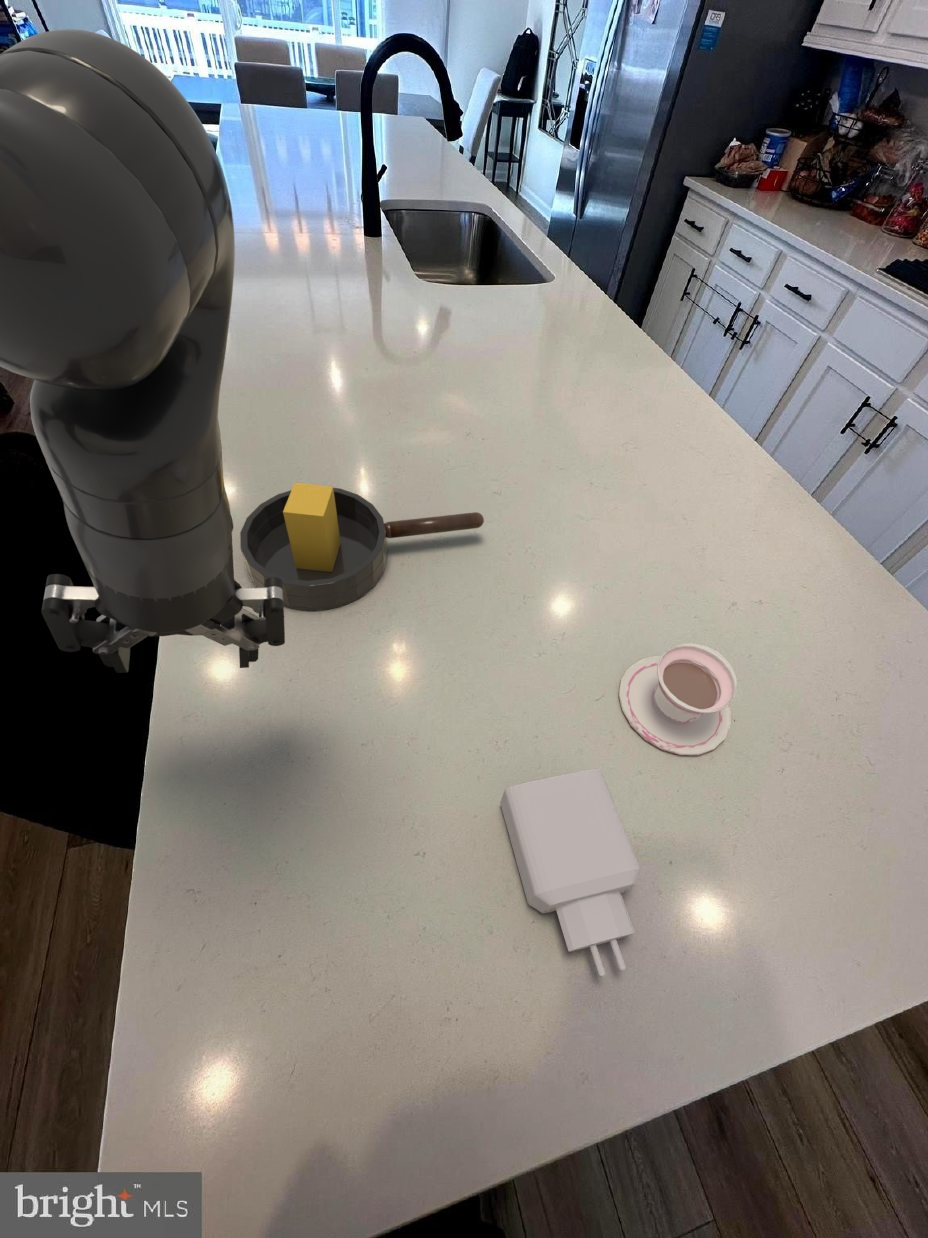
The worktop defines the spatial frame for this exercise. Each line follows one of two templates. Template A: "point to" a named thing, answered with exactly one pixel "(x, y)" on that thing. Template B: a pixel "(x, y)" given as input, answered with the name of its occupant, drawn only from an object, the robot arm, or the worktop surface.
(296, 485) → the cheese
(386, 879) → the worktop surface
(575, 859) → the charger
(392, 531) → the pan handle
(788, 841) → the worktop surface
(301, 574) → the pan
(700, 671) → the teacup
